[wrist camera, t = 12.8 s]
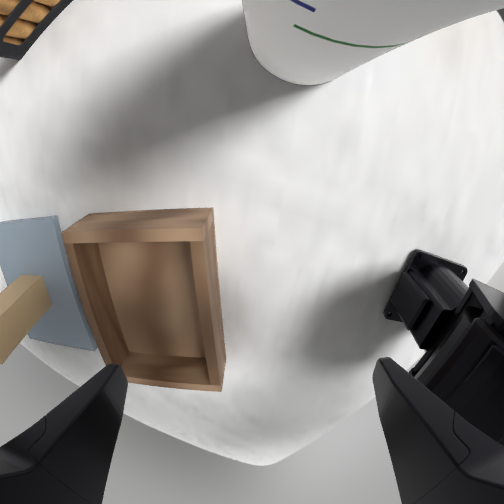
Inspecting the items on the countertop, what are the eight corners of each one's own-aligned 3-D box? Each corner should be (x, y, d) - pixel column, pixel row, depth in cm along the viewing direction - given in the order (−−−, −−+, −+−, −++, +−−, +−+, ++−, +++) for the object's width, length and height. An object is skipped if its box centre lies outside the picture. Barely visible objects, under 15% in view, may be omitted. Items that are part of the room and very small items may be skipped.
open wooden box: (213, 207, 20) (202, 228, 17) (226, 358, 26) (221, 391, 23) (89, 213, 21) (61, 232, 17) (126, 351, 27) (112, 379, 23)
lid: (59, 214, 21) (-22, 269, 12) (98, 344, 27) (57, 417, 18) (-6, 221, 22) (-72, 265, 12) (34, 333, 27) (-9, 389, 18)
